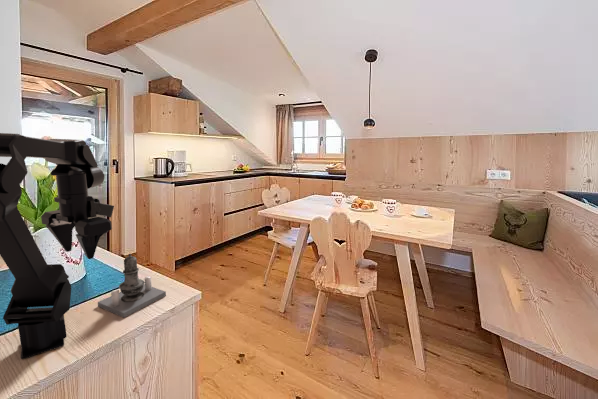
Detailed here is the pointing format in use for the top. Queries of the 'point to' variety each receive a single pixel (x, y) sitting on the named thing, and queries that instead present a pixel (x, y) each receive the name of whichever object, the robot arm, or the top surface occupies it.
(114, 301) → the pin tray
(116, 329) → the top surface
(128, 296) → the grey tall turned piece
